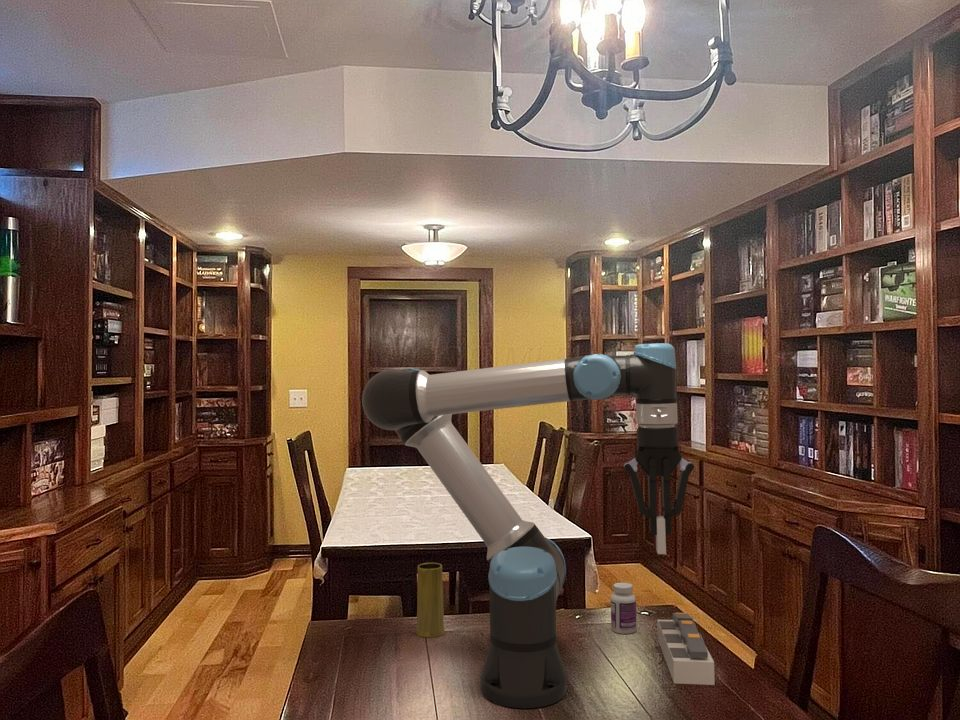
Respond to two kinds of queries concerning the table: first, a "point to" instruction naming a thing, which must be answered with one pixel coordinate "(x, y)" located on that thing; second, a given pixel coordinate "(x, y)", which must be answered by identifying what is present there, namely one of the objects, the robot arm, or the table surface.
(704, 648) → the block
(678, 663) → the power strip
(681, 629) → the rocker
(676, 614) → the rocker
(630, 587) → the pill bottle
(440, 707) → the table surface
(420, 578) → the vase
